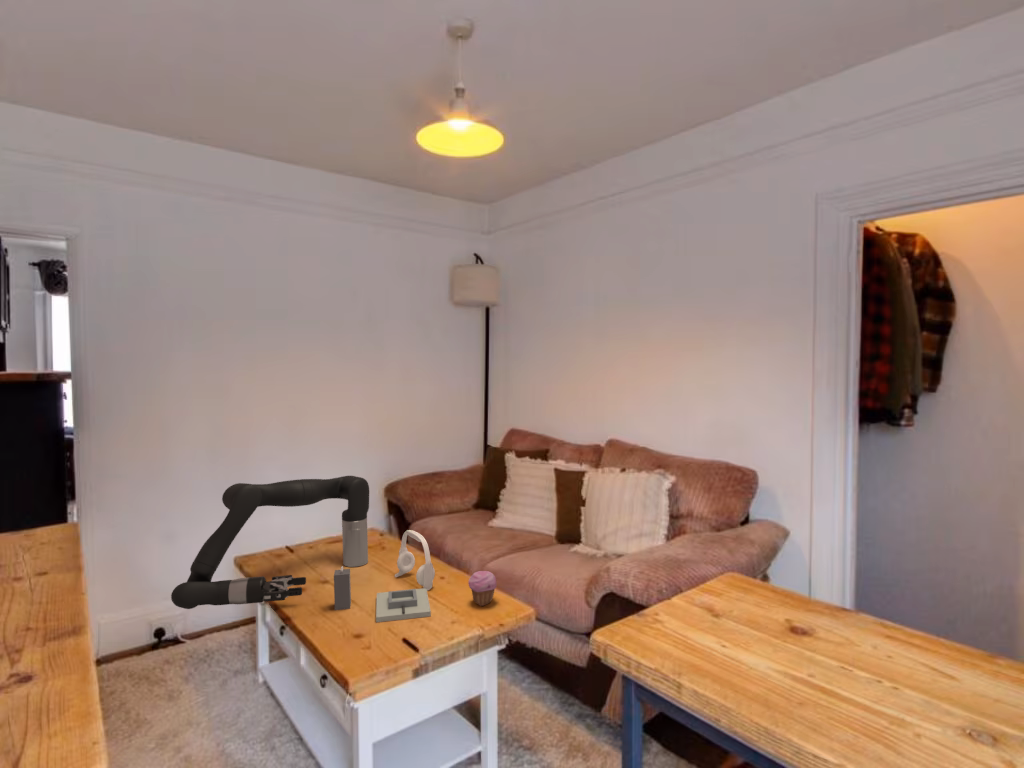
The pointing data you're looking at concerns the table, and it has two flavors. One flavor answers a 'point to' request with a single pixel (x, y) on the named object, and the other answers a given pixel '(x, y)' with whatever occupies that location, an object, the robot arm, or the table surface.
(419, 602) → the charging dock
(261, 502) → the robot arm
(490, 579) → the cupcake
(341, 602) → the charger block
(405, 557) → the headset
